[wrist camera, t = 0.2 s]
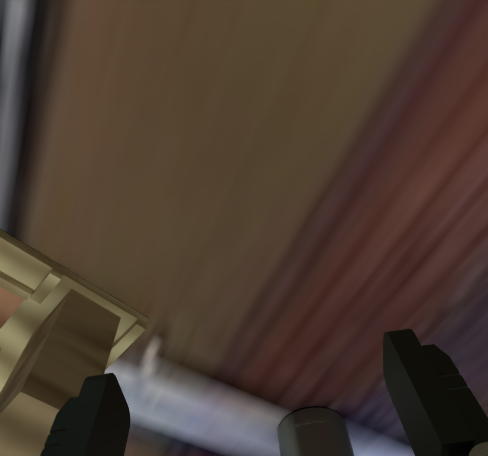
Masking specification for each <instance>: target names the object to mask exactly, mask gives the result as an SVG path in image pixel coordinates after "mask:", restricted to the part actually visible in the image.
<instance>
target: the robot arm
mask: <svg viewBox="0 0 488 456" xmlns="http://www.w3.org/2000/svg"><path fill="white" fill-rule="evenodd" d="M383 371H384V378H385V382H386V386H387V389H388V392H389V394H390V397H391V399H392V401H393V404H394V406H395V409H396V411H397V413H398V416H399V418H400V420H401V423H402V425H403V428H404V430H405V432H406V435H407V437H408V440H409V442H410V444H411V447H412V449H413V452H414V454H415V456H488V417H487V416H486V414H485V412H484V411H483V409H482V408H481V406H480V404H479V403H478V401H477V400H476V398H475V397H474V395H473V393H472V392H471V390H470V389H469V388H468V387H467V384H466V382H465V381H464V379H463V377H462V376H461V375H460V374H459V371H458V369H457V368H456V366H455V365H454V363H453V361H452V360H451V358H450V357H449V356H448V355H447V354H445V353H444V352H443V351H442V350H440V349H439V348H438V347H437V346H435V345H434V344H432V345H425V346H421V344H420V342H419V340H418V339H417V337H416V335H415V333H414V332H413V331H412V330H411V329H404V330H397V331H390V332H385V333H384V336H383ZM129 428H130V412H129V407H128V405H127V402H126V400H125V397H124V395H123V393H122V390H121V388H120V385H119V383H118V380H117V378H116V376H115V374H113V373H108V374H101V375H95V376H88V377H86V378H85V380H84V382H83V385H82V388H81V390H80V393H79V396H78V397H72V398H69V399H68V400H67V402H66V403H65V404H64V405H63V407H62V408H61V409H60V410H59V412H58V413H57V414H56V417H55V419H54V422H53V424H52V427H51V429H50V435H48V437H47V440H46V442H45V445H44V449H43V450H42V452H41V455H40V456H124V452H125V447H126V443H127V438H128V433H129ZM278 440H279V448H280V455H281V456H354V453H353V449H352V445H351V442H350V438H349V435H348V431H347V428H346V425H345V421H344V420H343V418H342V417H341V416H340V415H339V414H338V413H336V412H335V411H333V410H330V409H326V408H306V409H302V410H299V411H296V412H294V413H292V414H290V415H289V416H287V417H286V418H285V419H284V420H283V421H282V422H281V424H280V425H279V428H278Z"/></svg>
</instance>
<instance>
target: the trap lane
mask: <svg viewBox="0 0 488 456" xmlns="http://www.w3.org/2000/svg"><path fill="white" fill-rule="evenodd" d="M71 289H73V290H75V291H77V292H78V293H80V294H82V295H84V296H85V297H87V298H89V299H90V300H92V301H94V302H96V303H97V304H99V305H101V306H102V307H104V308H106V309H108V310H109V311H111V312H113V313H114V314H116V315H118V316H120V317H121V319H120V322H119V326H118V329H117V332H116V336H115V339H114V342H113V346H112V349H111V352H110V356H109V359H108V362H107V365H106V369H107V368H108V367H109V366H110V365H111V364H112V363H113V362H114V361H115V360H116V359H117V358H118V357H119V356H120V355H121V354H122V353H123V352H124V351H125V350H126V349H127V348H128V347H129V346H130V345H131V344H132V343H133V342H134V341H135V340H136V339H137V338H138V337H139V336H140V335H141V334H142V333H143V332H144V331H145V330H146V326H147V322H148V318H147V317H145V316H144V315H142V314H140V313H139V312H137V311H135V310H134V309H132V308H130V307H129V306H127V305H125V304H124V303H122V302H120V301H119V300H117V299H115V298H114V297H112V296H110V295H109V294H107V293H105V292H104V291H102V290H100V289H99V288H97V287H95V286H94V285H92V284H90V283H89V282H87V281H85V280H84V279H82V278H80V277H79V276H77V275H75V274H74V273H72V272H70V271H69V270H67V269H65V268H64V267H62V266H60V265H59V264H57V263H55V262H54V261H52V260H50V259H49V258H47V257H45V256H44V255H42V254H40V253H39V252H37V251H35V250H34V249H32V248H30V247H29V246H27V245H25V244H24V243H22V242H20V241H19V240H17V239H15V238H14V237H12V236H10V235H9V234H7V233H5V232H4V231H2V230H0V393H1V391H2V389H3V387H4V385H5V383H6V382H7V380H8V378H9V376H10V374H11V372H12V371H13V369H14V367H15V365H16V363H17V361H18V359H19V358H20V356H21V354H22V352H23V350H24V348H25V347H26V345H27V343H28V341H29V339H30V337H31V336H32V334H33V333H34V332H35V330H36V329H37V328H38V327H39V326H40V325H41V323H42V322H43V321H44V320H45V319H46V318H47V316H48V315H49V314H50V313H51V312H52V311H53V310H54V308H55V307H56V306H57V305H58V304H59V303H60V301H61V300H62V299H63V298H64V297H65V296H66V294H67V293H68V292H69V291H70V290H71ZM106 369H105V370H106ZM0 456H1V455H0Z"/></svg>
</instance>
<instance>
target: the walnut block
mask: <svg viewBox="0 0 488 456" xmlns="http://www.w3.org/2000/svg"><path fill="white" fill-rule="evenodd" d="M120 319H121V317H120V316H118V315H116V314H114V313H113V312H111V311H109V310H108V309H106V308H104V307H102V306H101V305H99V304H97V303H96V302H94V301H92V300H90V299H89V298H87V297H85V296H84V295H82V294H80V293H78V292H77V291H75V290H73V289H71V290H70V291H69V292H68V293H67V294H66V296H65V297H64V298H63V299H62V300H61V301H60V303H59V304H58V305H57V306H56V307H55V308H54V310H53V311H52V312H51V313H50V314H49V315H48V316H47V318H46V319H45V320H44V321H43V322H42V323H41V325H40V326H39V327H38V328H37V329H36V330H35V332H34V333H33V334H32V336H31V337H30V339H29V341H28V343H27V345H26V347H25V348H24V350H23V352H22V354H21V356H20V358H19V359H18V361H17V363H16V365H15V367H14V369H13V371H12V372H11V374H10V376H9V378H8V380H7V382H6V383H5V385H4V387H3V389H2V391H1V393H0V455H1V456H40V455H41V452H42V450H43V449H44V445H45V442H46V440H47V437H48V435H50V429H51V427H52V424H53V422H54V419H55V417H56V414H57V413H58V412H59V410H60V409H61V408H62V407H63V405H64V404H65V403H66V402H67V400H68V399H69V398H72V397H78V396H79V393H80V390H81V388H82V385H83V382H84V380H85V378H86V377H88V376H95V375H101V374H104V372H105V369H106V365H107V362H108V359H109V356H110V352H111V349H112V346H113V342H114V339H115V336H116V332H117V329H118V326H119V322H120Z"/></svg>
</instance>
